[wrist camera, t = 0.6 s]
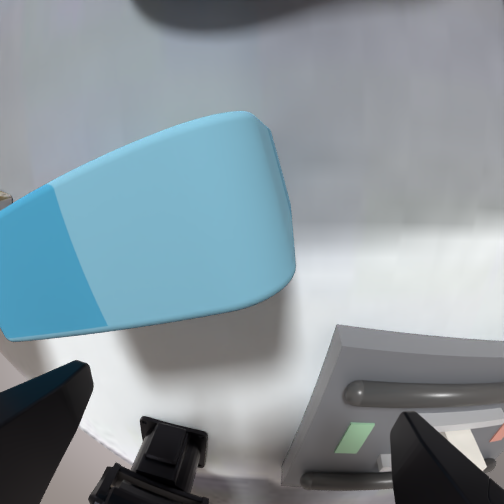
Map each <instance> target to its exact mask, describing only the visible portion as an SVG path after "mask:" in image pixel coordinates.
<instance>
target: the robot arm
mask: <svg viewBox="0 0 504 504" xmlns="http://www.w3.org/2000/svg"><path fill="white" fill-rule="evenodd" d="M93 387H94V385H93V379H92V375H91V370H90V366H89V365H88V364H87V363H84V362H81V361H79V360H75V361H72V362H70V363H68V364H66V365H63V366H61V367H59V368H56V369H54V370H52V371H50V372H47V373H45V374H43V375H40V376H38V377H36V378H33V379H31V380H29V381H26V382H24V383H22V384H19V385H17V386H15V387H12V388H10V389H7V390H5V391H3V392H0V504H40V502H41V499H42V497H43V495H44V493H45V491H46V489H47V487H48V485H49V483H50V481H51V479H52V477H53V475H54V473H55V471H56V469H57V467H58V465H59V463H60V461H61V459H62V457H63V455H64V454H65V452H66V450H67V448H68V446H69V444H70V442H71V440H72V438H73V436H74V434H75V433H76V431H77V428H78V426H79V424H80V421H81V419H82V416H83V414H84V411H85V409H86V406H87V404H88V401H89V399H90V397H91V394H92V392H93ZM140 426H141V433H142V439H143V443H142V445H141V447H140V450H139V452H138V454H137V456H136V459H135V461H134V463H133V466H132V468H131V470H129V469H127V468H125V467H122V466H121V465H120V464H118V463H115V465H114V466H113V467H107V468H106V470H105V472H104V474H103V476H102V478H101V480H100V481H99V483H98V484H97V486H96V487H95V489H94V490H93V492H92V493H91V494H90V496H89V498H88V500H89V502H90V504H208V503H209V498H206V497H199V496H196V495H193V494H190V492H191V489H192V485H193V481H194V478H195V474H196V470H197V467H199V468H203V467H204V465H205V457H206V447H207V436H208V435H207V433H205V432H203V431H199V430H194V429H190V428H186V427H182V426H178V425H174V424H170V423H166V422H163V421H159V420H156V419H152V418H149V417H145V416H142V417H141V419H140ZM390 448H391V469H392V482H393V490H394V496H395V504H504V489H502V488H501V487H500V486H499V485H498V484H496V483H495V482H494V481H493V480H492V479H491V478H489V476H487V475H486V474H485V473H484V472H483V471H482V470H481V469H480V468H478V467H477V466H476V465H475V464H474V463H473V462H472V461H471V460H469V459H468V458H467V457H466V456H465V455H464V454H463V453H462V452H461V451H459V450H458V449H457V448H456V447H455V446H454V445H453V444H452V443H450V442H449V441H448V440H447V439H446V438H445V437H444V436H443V435H442V434H440V433H439V432H438V431H437V430H436V429H435V428H434V427H433V426H432V425H430V424H429V423H428V422H427V421H426V420H425V419H424V418H423V417H422V416H420V415H419V414H418V413H417V412H416V411H403V412H401V413H400V415H399V417H398V418H397V420H396V422H395V424H394V425H393V427H392V429H391V431H390Z"/></svg>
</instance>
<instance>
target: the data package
mask: <svg viewBox="0 0 504 504" xmlns="http://www.w3.org/2000/svg"><path fill="white" fill-rule="evenodd" d="M295 268H296V263H295V250H294V238H293V226H292V215H291V204H290V200H289V196H288V193H287V189H286V185H285V181H284V177H283V174H282V170H281V166H280V163H279V159H278V155H277V152H276V148H275V144H274V141H273V137H272V134H271V131H270V129H269V128H267V127H266V126H265V125H264V124H263V123H262V122H261V121H260V120H259V119H258V118H257V117H255V116H254V115H253V114H252V113H249V112H246V111H234V112H226V113H220V114H215V115H211V116H206V117H202V118H199V119H195V120H192V121H188V122H185V123H182V124H179V125H176V126H173V127H171V128H168V129H165V130H163V131H160V132H157V133H155V134H152V135H150V136H147V137H145V138H142V139H140V140H137V141H135V142H133V143H130V144H128V145H125V146H123V147H121V148H119V149H116V150H114V151H112V152H109V153H107V154H105V155H103V156H101V157H99V158H96V159H94V160H92V161H90V162H88V163H86V164H84V165H82V166H80V167H78V168H76V169H74V170H72V171H70V172H68V173H66V174H64V175H62V176H60V177H58V178H56V179H54V180H52V181H51V182H49V183H47V184H45V185H43V186H41V187H40V188H38V189H36V190H34V191H33V192H31V193H29V194H27V195H26V196H24V197H22V198H20V199H19V200H17V201H15V202H14V203H12V204H10V205H9V206H7V207H6V208H4V209H2V210H1V211H0V328H1V330H2V332H3V334H4V336H5V337H6V338H7V339H8V340H9V341H12V342H21V341H32V340H42V339H51V338H60V337H69V336H78V335H86V334H94V333H102V332H109V331H116V330H124V329H131V328H137V327H144V326H151V325H157V324H163V323H170V322H176V321H182V320H188V319H194V318H199V317H205V316H211V315H216V314H222V313H227V312H232V311H237V310H240V309H244V308H247V307H250V306H253V305H255V304H258V303H260V302H262V301H264V300H266V299H268V298H270V297H272V296H273V295H275V294H276V293H278V292H279V291H281V290H282V289H283V288H284V287H285V286H286V285H287V284H288V283H289V282H290V280H291V279H292V277H293V275H294V273H295Z"/></svg>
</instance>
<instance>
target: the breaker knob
mask: <svg viewBox="0 0 504 504" xmlns="http://www.w3.org/2000/svg"><path fill="white" fill-rule="evenodd" d="M439 433H440V434H442V435H443V436H444V437H445V438H446V439H447V440H448V441H449V442H450V443H452V444H453V445H454V446H455V447H456V448H457V449H458V450H459V451H461V452H462V453H463V454H464V455H465V456H466V457H467V458H468V459H469V460H471V461H472V462H473V463H474V464H475V465H476V466H477V467H478V468H480V469H481V470H482V471H483V470H484V469H485V468H486V467H487V466H486V463H485V461H484V459H483V456H482V454H481V452H480V450H479V447H478V445H477V443H476V441H475V438H474V436H473V434H472V432H471V430H470V429H467V430H457V431H447V432H439Z"/></svg>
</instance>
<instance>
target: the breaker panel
mask: <svg viewBox="0 0 504 504" xmlns="http://www.w3.org/2000/svg"><path fill="white" fill-rule="evenodd" d="M403 411H416V412H417V413H418V414H419V415H420V416H422V417H423V418H424V419H425V420H426V421H427V422H428V423H429V424H430V425H432V426H433V427H434V428H435V429H436V430H437V431H438V432H447V431H457V430H467V429H470V430H471V432H472V434H473V436H474V438H475V441H476V443H477V445H478V447H479V450H480V452H481V454H482V456H483V459H484V461H485V463H486V466H487V467H486V468H485V469H484V470H483V472H484V473H486V472H490V471H492V470H493V469H494V468H495V466H496V461H495V459H496V458H497V457H498V456H499V455H500V454H501V452H502V451H503V450H504V341H490V340H475V339H462V338H450V337H439V336H429V335H419V334H409V333H400V332H391V331H383V330H375V329H367V328H359V327H352V326H344V325H336V329H335V332H334V335H333V338H332V341H331V344H330V347H329V349H328V352H327V355H326V358H325V361H324V364H323V367H322V369H321V372H320V375H319V378H318V380H317V383H316V386H315V388H314V391H313V394H312V396H311V399H310V401H309V404H308V406H307V409H306V411H305V414H304V416H303V419H302V421H301V424H300V426H299V429H298V431H297V433H296V436H295V438H294V440H293V443H292V445H291V447H290V449H289V452H288V454H287V456H286V458H285V461H284V463H283V465H282V476H281V485H282V486H294V487H303V488H304V489H307V490H331V491H351V490H378V489H392V488H393V482H392V469H391V448H390V431H391V429H392V427H393V425H394V424H395V422H396V420H397V418H398V417H399V415H400V413H401V412H403Z"/></svg>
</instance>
